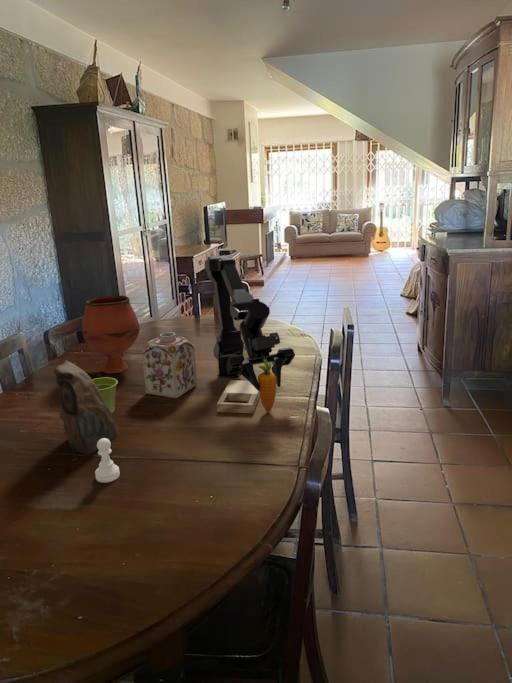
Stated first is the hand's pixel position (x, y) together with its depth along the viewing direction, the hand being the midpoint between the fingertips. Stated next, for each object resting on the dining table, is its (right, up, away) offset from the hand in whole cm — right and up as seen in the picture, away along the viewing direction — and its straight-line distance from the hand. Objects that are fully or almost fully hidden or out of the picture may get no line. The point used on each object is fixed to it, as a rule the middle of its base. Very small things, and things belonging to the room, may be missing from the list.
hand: (269, 388), depth 135 cm
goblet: (-53, +3, +42) cm, 67 cm away
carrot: (0, -7, +3) cm, 8 cm away
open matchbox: (-8, -4, +12) cm, 15 cm away
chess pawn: (-35, -17, -26) cm, 47 cm away
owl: (-44, -12, -10) cm, 47 cm away
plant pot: (-46, -7, +7) cm, 47 cm away
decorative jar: (-30, -3, +22) cm, 37 cm away
